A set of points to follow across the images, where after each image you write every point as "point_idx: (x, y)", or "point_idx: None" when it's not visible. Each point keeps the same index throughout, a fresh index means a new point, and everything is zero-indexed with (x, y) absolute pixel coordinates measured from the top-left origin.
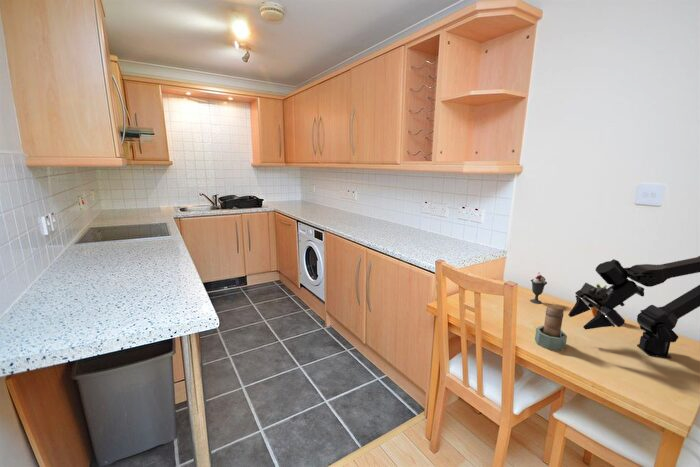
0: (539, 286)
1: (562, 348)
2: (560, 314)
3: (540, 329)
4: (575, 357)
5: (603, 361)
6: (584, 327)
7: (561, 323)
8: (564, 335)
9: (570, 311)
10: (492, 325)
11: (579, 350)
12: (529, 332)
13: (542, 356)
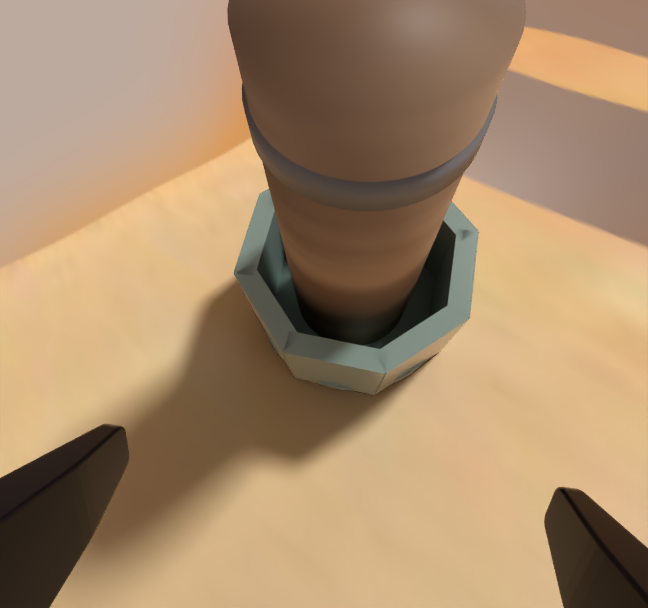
0: None
1: (265, 332)
2: (243, 79)
3: None
4: (171, 372)
5: (93, 568)
6: (100, 432)
7: (288, 229)
8: (296, 335)
9: (642, 543)
10: (571, 65)
11: (260, 475)
12: (514, 243)
13: (202, 176)
